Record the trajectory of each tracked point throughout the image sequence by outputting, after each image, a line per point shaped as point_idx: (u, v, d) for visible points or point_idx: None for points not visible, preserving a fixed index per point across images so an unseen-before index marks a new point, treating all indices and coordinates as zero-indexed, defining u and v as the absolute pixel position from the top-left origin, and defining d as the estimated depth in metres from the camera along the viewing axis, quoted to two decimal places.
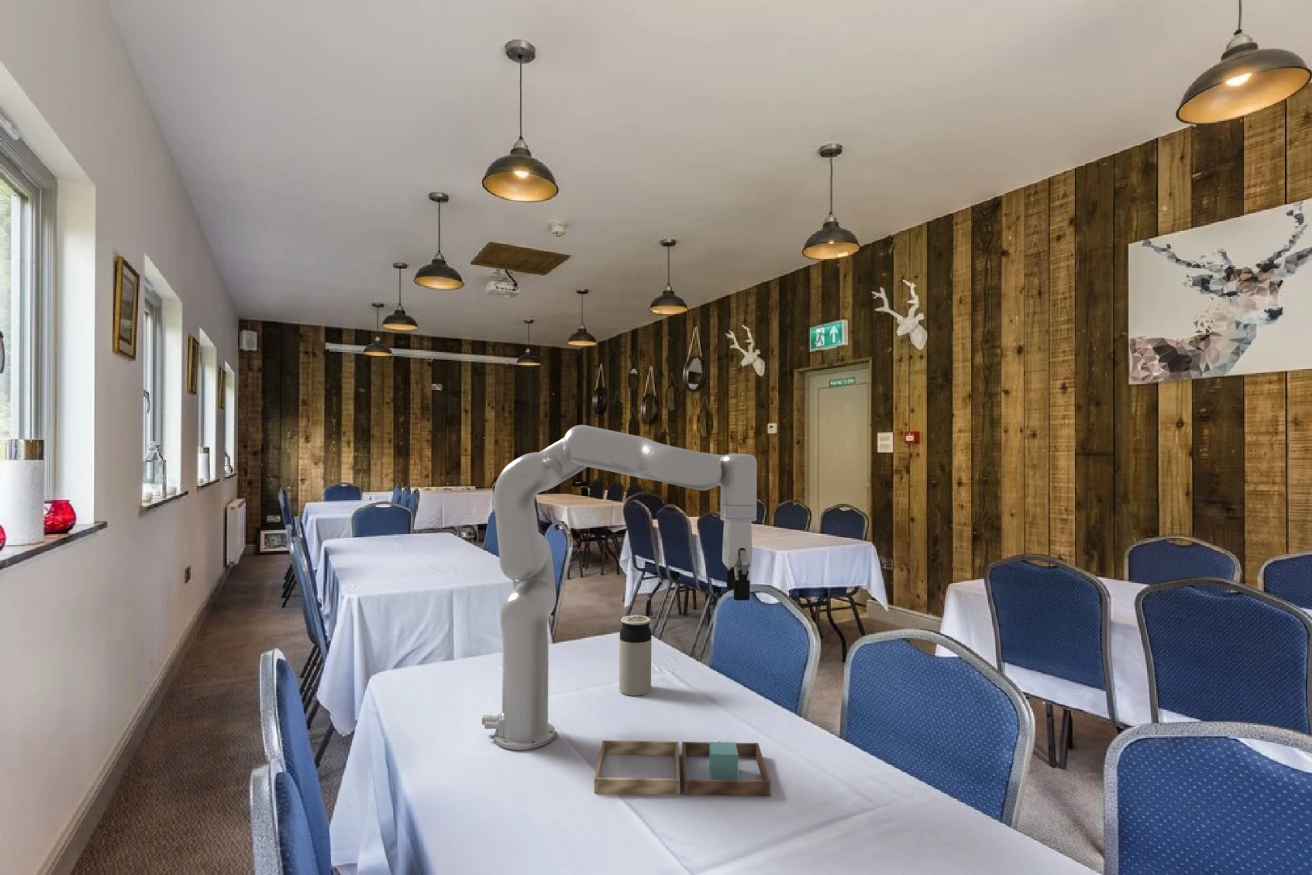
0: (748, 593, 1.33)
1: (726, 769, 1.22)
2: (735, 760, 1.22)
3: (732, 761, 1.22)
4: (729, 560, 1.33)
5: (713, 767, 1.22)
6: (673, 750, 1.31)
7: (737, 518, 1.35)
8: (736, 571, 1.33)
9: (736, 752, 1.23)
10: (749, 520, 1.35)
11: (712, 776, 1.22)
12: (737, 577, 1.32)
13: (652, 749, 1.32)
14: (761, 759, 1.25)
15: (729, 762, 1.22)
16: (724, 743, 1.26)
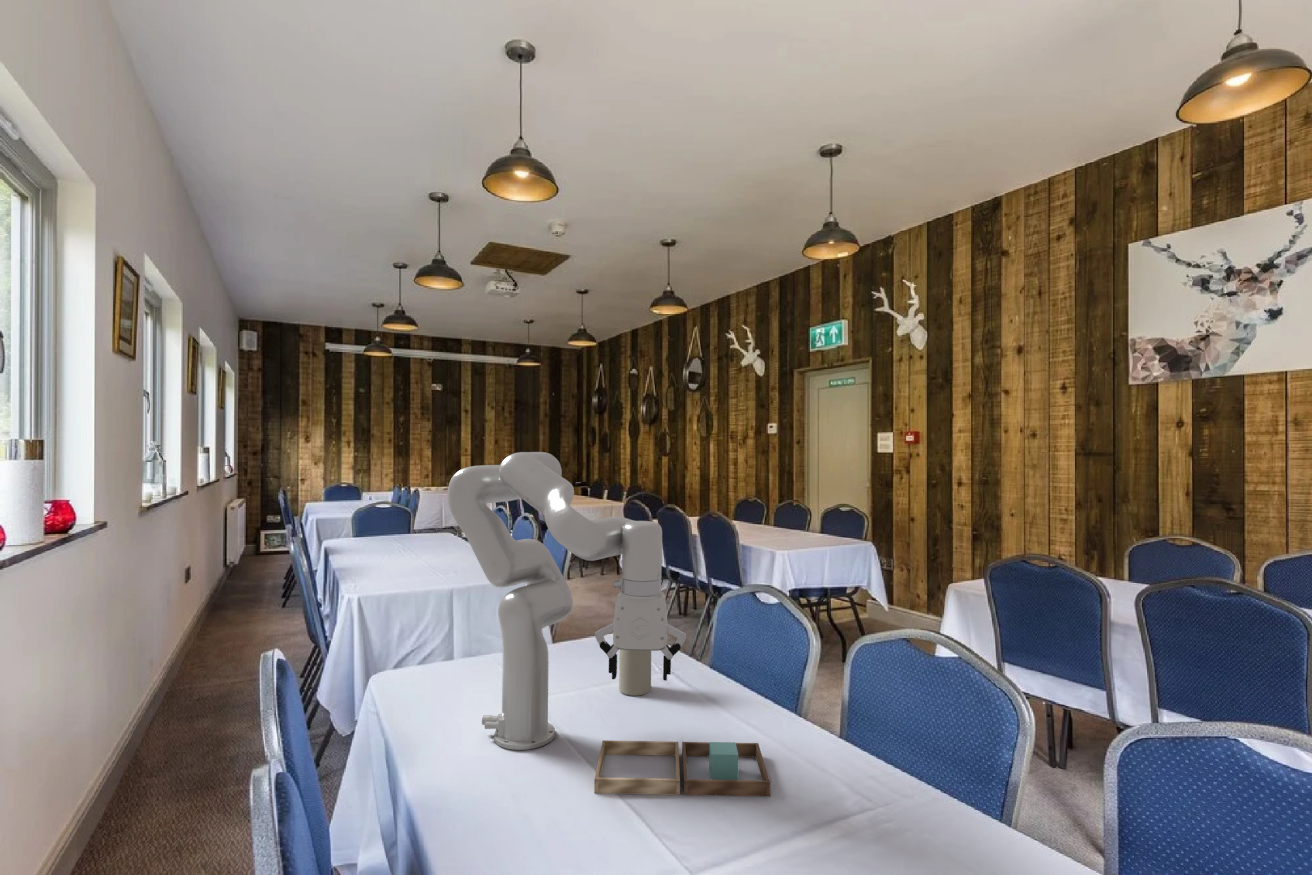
0: None
1: (726, 769, 1.22)
2: (735, 760, 1.22)
3: (732, 761, 1.22)
4: (665, 640, 1.22)
5: (713, 767, 1.22)
6: (673, 750, 1.31)
7: (660, 592, 1.24)
8: (667, 649, 1.24)
9: (736, 752, 1.23)
10: None
11: (712, 776, 1.22)
12: (672, 654, 1.24)
13: (652, 749, 1.32)
14: (761, 759, 1.25)
15: (729, 762, 1.22)
16: (724, 743, 1.26)
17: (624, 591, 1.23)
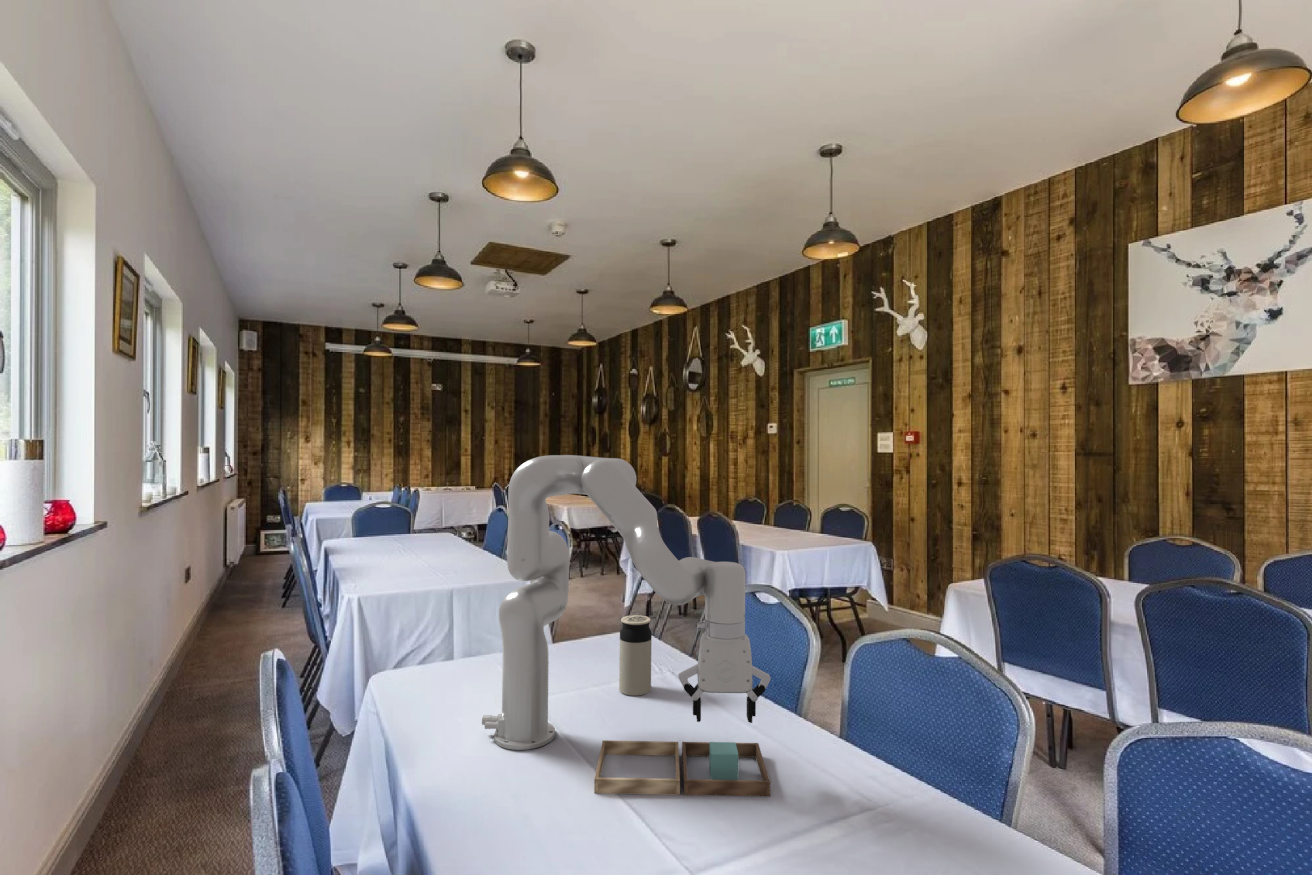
0: None
1: (726, 769, 1.22)
2: (735, 760, 1.22)
3: (732, 761, 1.22)
4: (751, 682, 1.22)
5: (713, 767, 1.22)
6: (673, 750, 1.31)
7: (744, 634, 1.24)
8: (752, 691, 1.23)
9: (736, 752, 1.23)
10: None
11: (712, 776, 1.22)
12: (757, 696, 1.23)
13: (652, 749, 1.32)
14: (761, 759, 1.25)
15: (729, 762, 1.22)
16: (724, 743, 1.26)
17: (709, 633, 1.22)
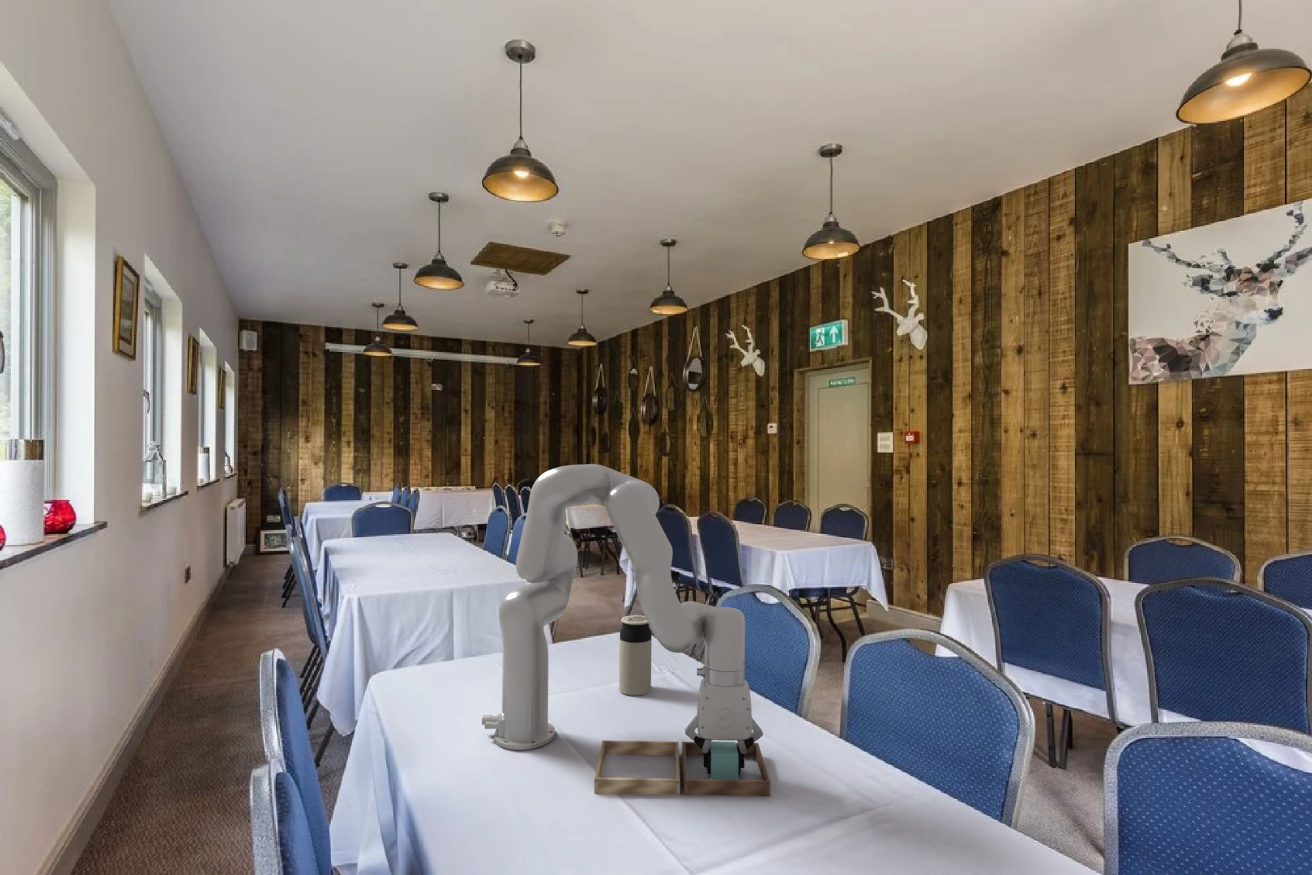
0: None
1: (726, 769, 1.22)
2: (735, 760, 1.22)
3: (732, 760, 1.22)
4: (750, 729, 1.22)
5: (713, 766, 1.22)
6: (673, 750, 1.31)
7: (744, 680, 1.24)
8: (744, 743, 1.23)
9: (736, 752, 1.23)
10: None
11: (712, 776, 1.22)
12: (746, 750, 1.23)
13: (652, 749, 1.32)
14: (761, 759, 1.25)
15: (729, 762, 1.22)
16: (724, 743, 1.26)
17: (708, 680, 1.22)
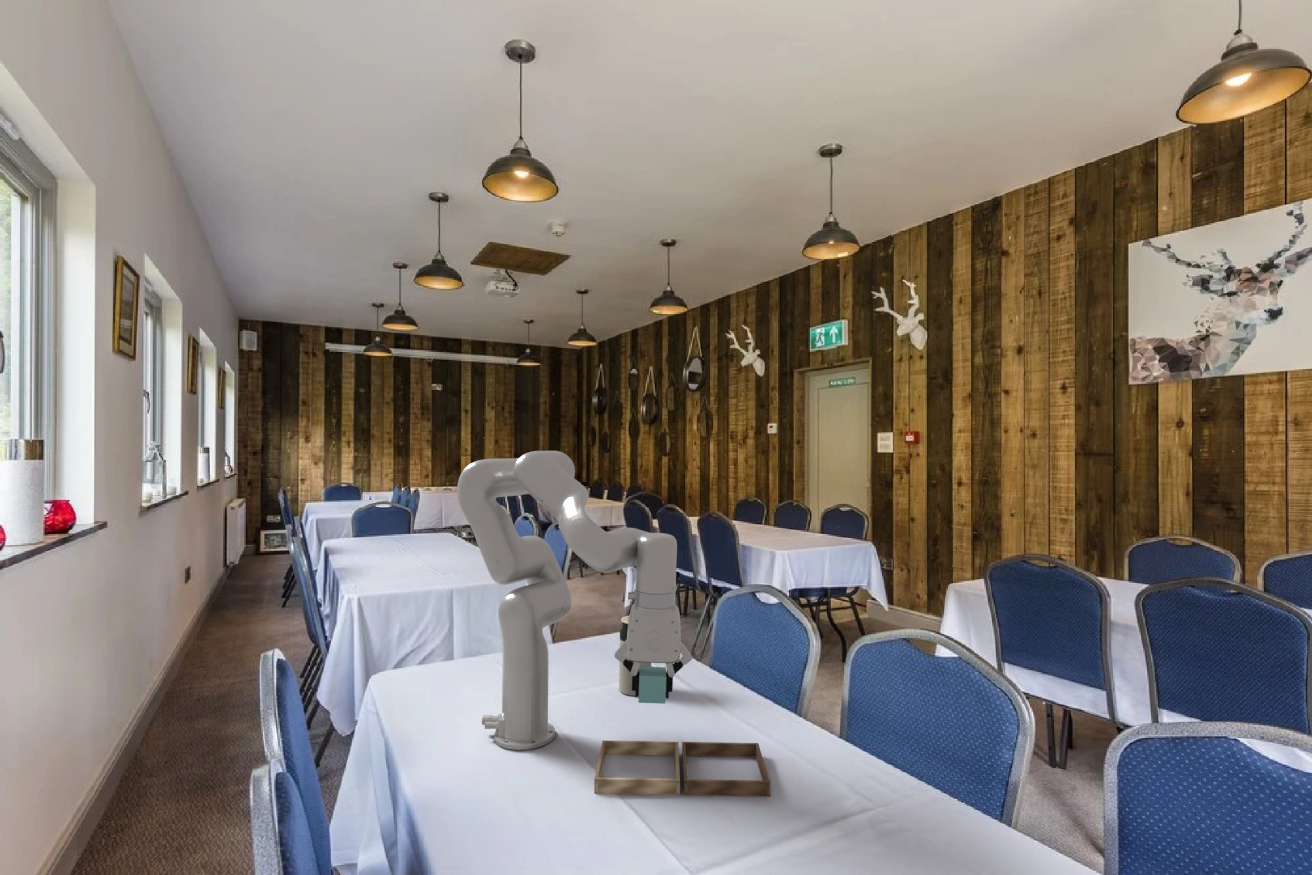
0: None
1: (654, 691, 1.22)
2: (662, 682, 1.22)
3: (660, 683, 1.22)
4: (678, 652, 1.22)
5: (641, 688, 1.22)
6: (673, 750, 1.31)
7: (674, 605, 1.24)
8: (672, 667, 1.24)
9: (664, 675, 1.23)
10: None
11: (640, 698, 1.22)
12: (674, 673, 1.24)
13: (652, 749, 1.32)
14: (761, 759, 1.25)
15: (657, 684, 1.22)
16: (654, 667, 1.27)
17: (638, 603, 1.23)
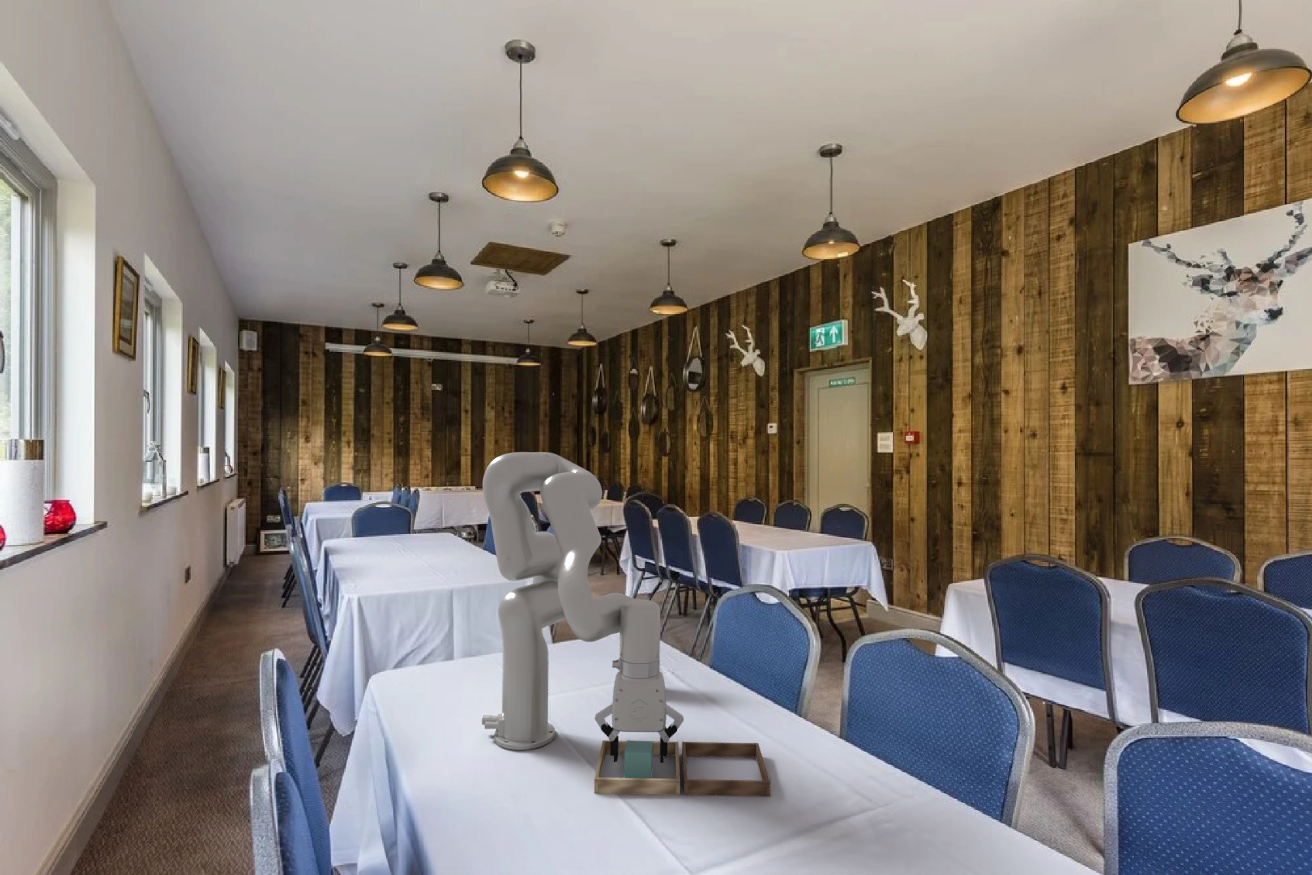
0: None
1: (639, 768, 1.22)
2: (648, 759, 1.22)
3: (645, 759, 1.22)
4: (664, 721, 1.22)
5: (626, 765, 1.22)
6: (673, 750, 1.31)
7: (659, 672, 1.24)
8: (665, 731, 1.23)
9: (650, 751, 1.23)
10: None
11: (625, 775, 1.22)
12: (668, 737, 1.24)
13: None
14: (761, 759, 1.25)
15: (642, 761, 1.22)
16: (641, 742, 1.27)
17: (622, 672, 1.23)
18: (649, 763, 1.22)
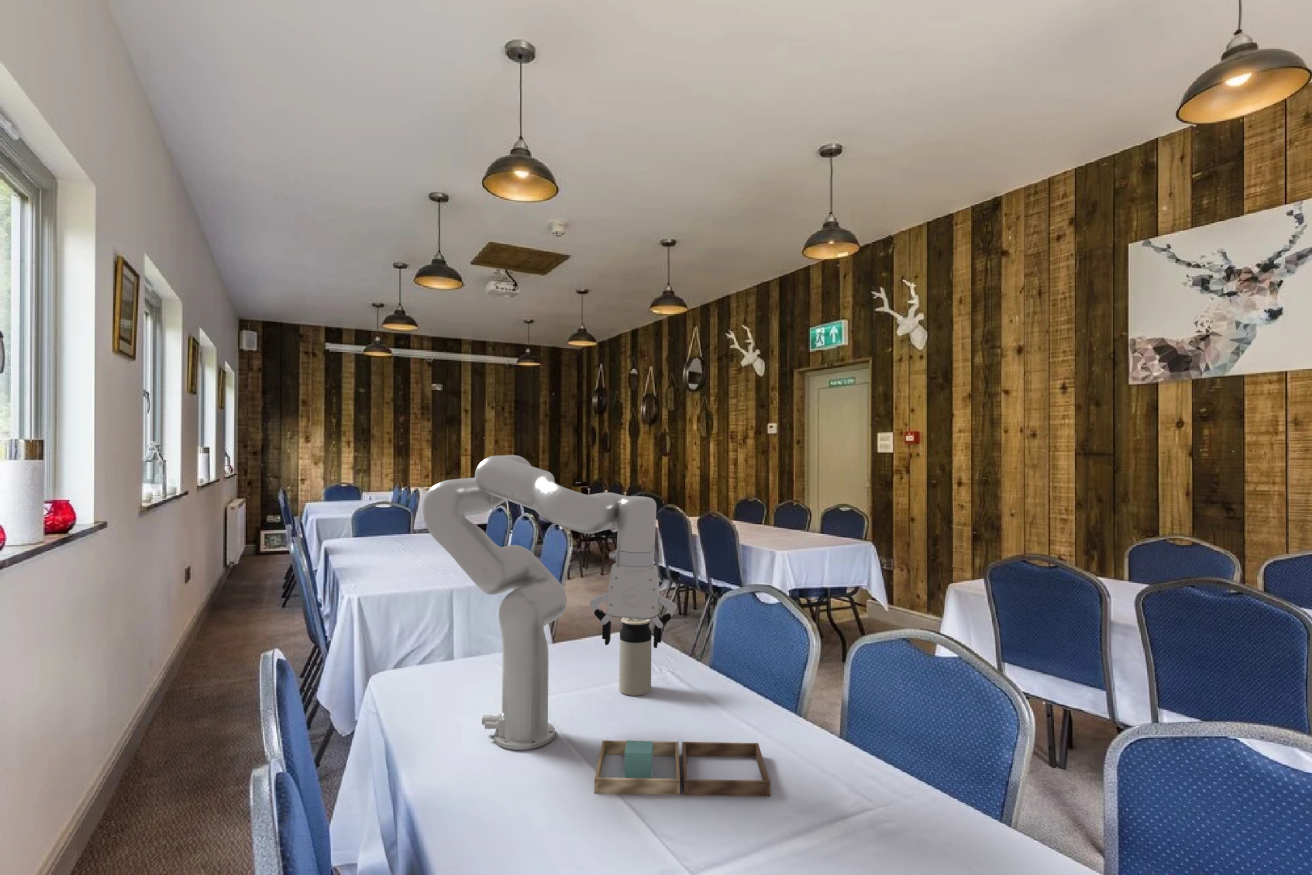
0: None
1: (639, 768, 1.22)
2: (648, 759, 1.22)
3: (645, 759, 1.22)
4: (656, 609, 1.28)
5: (626, 765, 1.22)
6: (673, 750, 1.31)
7: (653, 564, 1.30)
8: (658, 618, 1.30)
9: (650, 751, 1.23)
10: None
11: (625, 775, 1.22)
12: (662, 623, 1.30)
13: None
14: (761, 759, 1.25)
15: (642, 761, 1.22)
16: (641, 742, 1.27)
17: (618, 562, 1.29)
18: (649, 763, 1.22)
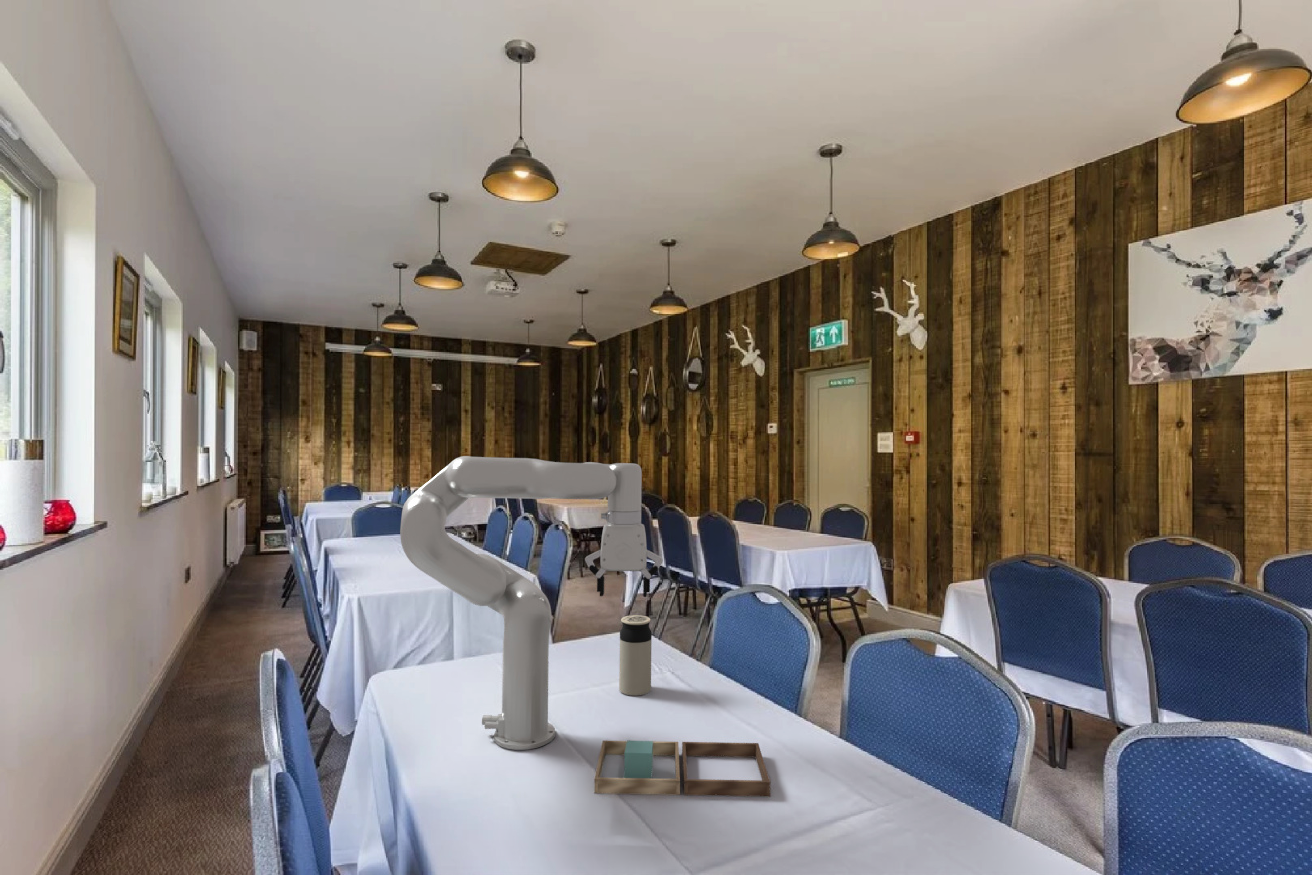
0: None
1: (639, 768, 1.22)
2: (648, 759, 1.22)
3: (645, 759, 1.22)
4: (644, 561, 1.44)
5: (626, 765, 1.22)
6: (673, 750, 1.31)
7: (640, 522, 1.46)
8: (647, 570, 1.46)
9: (650, 751, 1.23)
10: None
11: (625, 775, 1.22)
12: (650, 575, 1.46)
13: None
14: (761, 759, 1.25)
15: (642, 761, 1.22)
16: (641, 742, 1.27)
17: (609, 521, 1.45)
18: (649, 763, 1.22)
